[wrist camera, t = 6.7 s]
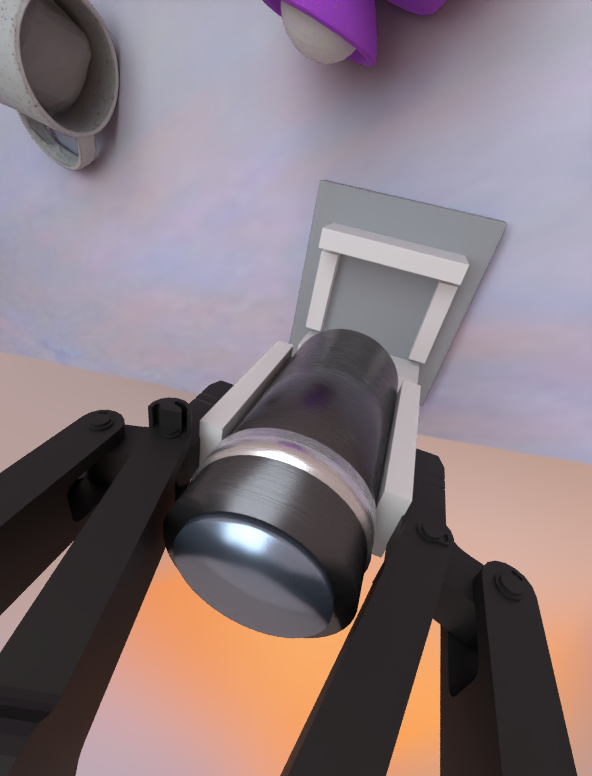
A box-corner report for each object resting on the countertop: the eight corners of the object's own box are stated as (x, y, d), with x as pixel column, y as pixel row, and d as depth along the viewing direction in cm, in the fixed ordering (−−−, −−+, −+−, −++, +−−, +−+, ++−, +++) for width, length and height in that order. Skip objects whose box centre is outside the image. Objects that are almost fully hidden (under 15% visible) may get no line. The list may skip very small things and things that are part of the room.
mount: (290, 355, 33) (273, 376, 29) (324, 180, 25) (307, 180, 21) (422, 398, 30) (420, 426, 27) (504, 221, 23) (516, 229, 19)
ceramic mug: (20, -26, 25) (-120, -90, 19) (121, 10, 24) (9, -46, 18) (40, 151, 31) (-60, 146, 25) (121, 184, 30) (38, 188, 24)
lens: (343, 443, 19) (265, 664, 10) (269, 373, 18) (122, 546, 10) (426, 387, 16) (414, 633, 7) (342, 301, 15) (221, 461, 7)
